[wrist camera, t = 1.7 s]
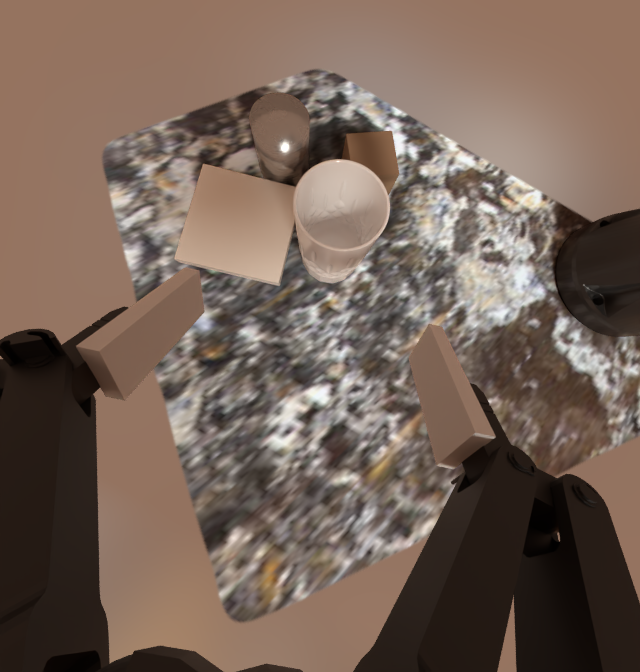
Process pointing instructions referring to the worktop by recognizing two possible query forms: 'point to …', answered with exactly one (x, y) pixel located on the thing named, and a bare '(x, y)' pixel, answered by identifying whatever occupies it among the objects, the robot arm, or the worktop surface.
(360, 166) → the white cup
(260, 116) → the grey tin
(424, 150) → the worktop surface
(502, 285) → the worktop surface
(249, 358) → the worktop surface
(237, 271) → the tile
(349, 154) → the walnut block
